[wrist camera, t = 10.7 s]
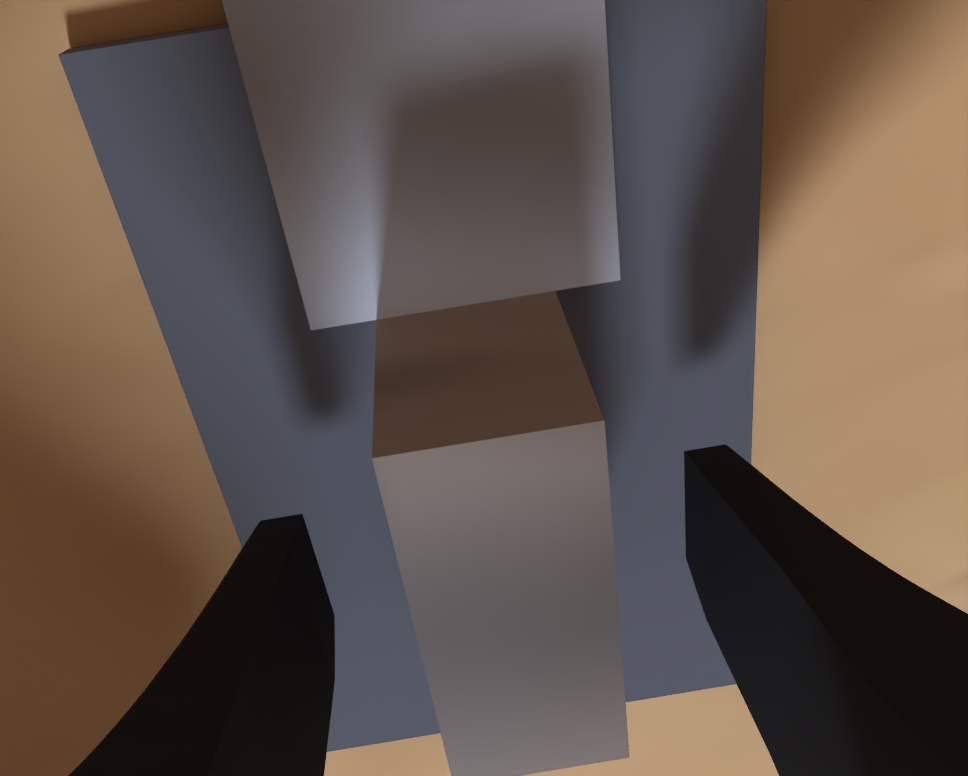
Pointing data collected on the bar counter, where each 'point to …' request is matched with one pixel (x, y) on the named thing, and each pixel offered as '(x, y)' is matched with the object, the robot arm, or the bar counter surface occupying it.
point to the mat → (351, 348)
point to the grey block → (466, 331)
